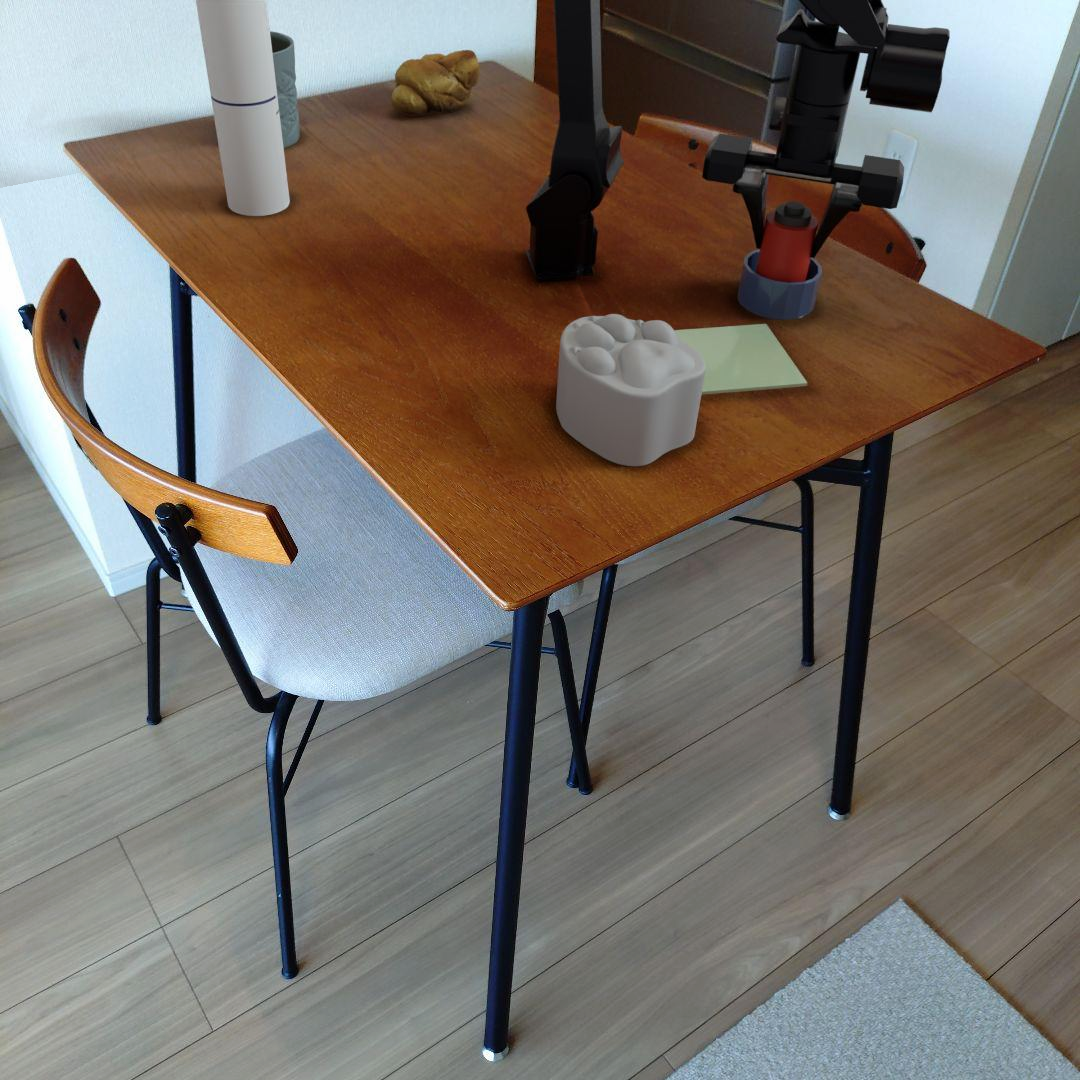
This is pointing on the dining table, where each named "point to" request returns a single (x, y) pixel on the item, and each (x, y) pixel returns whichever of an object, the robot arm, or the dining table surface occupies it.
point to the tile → (742, 359)
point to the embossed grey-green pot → (286, 86)
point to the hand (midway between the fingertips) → (785, 251)
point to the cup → (777, 292)
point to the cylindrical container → (245, 104)
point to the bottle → (787, 243)
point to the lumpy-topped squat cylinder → (628, 387)
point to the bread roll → (435, 83)
